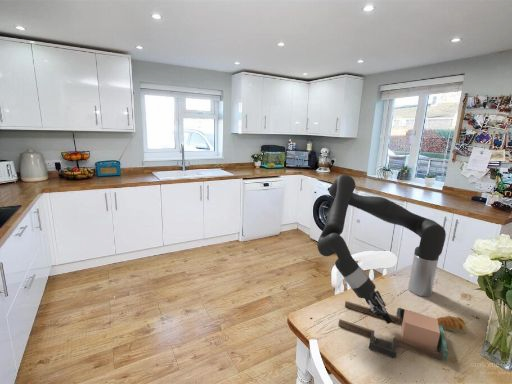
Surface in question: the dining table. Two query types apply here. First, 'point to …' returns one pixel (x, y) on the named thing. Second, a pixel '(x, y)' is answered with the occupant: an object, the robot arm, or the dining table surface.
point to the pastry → (453, 324)
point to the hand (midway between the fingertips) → (390, 321)
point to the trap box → (385, 346)
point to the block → (420, 330)
